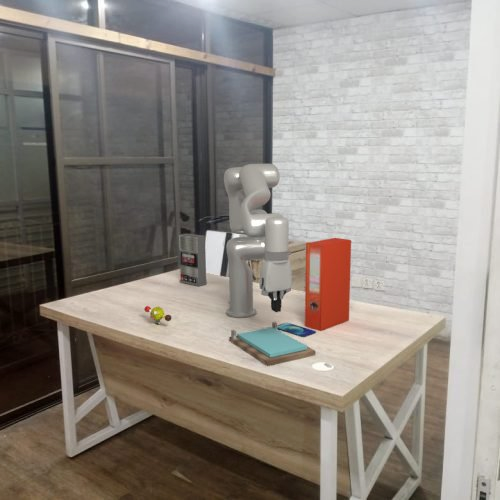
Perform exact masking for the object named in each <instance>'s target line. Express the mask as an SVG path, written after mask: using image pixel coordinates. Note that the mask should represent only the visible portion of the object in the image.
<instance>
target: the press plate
mask: <svg viewBox="0 0 500 500" xmlns="http://www.w3.org/2000/svg"><path fill="white" fill-rule="evenodd" d="M236 336H237V337H238V338H239V339H241V340H243V341H244V342H246V343H247V344H249V345H251V346H252V347H254V348H255V349H257V350H259V351H260V352H262V353H263V354H265V355H267V356H268V357H270V358H271V357H275V356H280V355H284V354H289V353H293V352H298V351H302V350H307V347H308V345H307V344H305V343H303V342H301V341H299V340H297V339H295V338H293V337H292V336H289V335H287V334H285V332H284V333H283V331H281V330H278V329H277V330H276V329H274V328H272V326H268V327H262V328H258V329H253V330H248V331H243V332H238V333H236Z"/></svg>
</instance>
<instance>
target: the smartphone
mask: <svg viewBox="0 0 500 500" xmlns="http://www.w3.org/2000/svg"><path fill="white" fill-rule="evenodd" d="M277 330H278V331H280V332H284V333H288V334H291V335H294V336H297V337H300V338H306V337H309V336H312V335H315V334H316V333H317V330H315V329H311V328H308V327H304V326H300V325H297V324H294V323H290V322H283V323H281V324H277Z"/></svg>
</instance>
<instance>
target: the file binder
mask: <svg viewBox="0 0 500 500" xmlns="http://www.w3.org/2000/svg"><path fill="white" fill-rule="evenodd" d="M351 255H352V240H351V239H346V238H339V237H331V238H326V239H322V240H317V241H312V242H311V241H310V242H307V243H305V286H304V288H305V291H304V293H305V294H304V296H305V298H304V299H305V301H304V302H305V303H304V326H305V328H307V329H311V330H314V331H319V332H323V331H325V330H328V329H330V328H333V327H335V326H338V325H341V324H344V323H346V322H348V321H350V295H351V293H350V292H351V289H350V288H351V264H352V263H351V262H352V261H351V260H352V259H351V258H352V256H351Z"/></svg>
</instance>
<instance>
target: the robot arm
mask: <svg viewBox="0 0 500 500" xmlns="http://www.w3.org/2000/svg"><path fill="white" fill-rule="evenodd" d="M280 176H281V175H280V172H279V169H278V167H277V166H276V165H275V164H273V163H248V164H245V165H243V166H237V167H235V166H234V167H230V168H229V167H228V168H227V169H226V170H225V171H224V174H223V182H224V184H223V185H224V188H225V191H226V194H227V195H228V206H229V207H228V208H229V209H228V210H229V211H228V212H229V214H228V215H229V218H228V219H229V228H230V231H231V233H233V234H236V235H246V236H239V237H238V236H237V237H236V236H235V237H232V238H230V239H229V240H227V243H226V254H227V255H226V256H227V262H228V276H229V277H228V279H229V280H228V281H229V283H228V284H229V287H228V288H229V300H228V304H229V308H227V309H226V310H225V312H226V316H229V317H233V318H249V317H253V316H255V315H257V312H258V310H257V308H255V307H254V288H253V286H254V284H253V283H254V281H253V280H254V279H253V278H254V275H253V273H254V272H253V269H252V268H251V266H250V265H249V264H248V263H247V261H256V260H262V261H261V265H260V271H259V289H261V293H260V294H261V295H262V296H264V297H269V299H270V308H271V311H273V312H274V313H281V312H282V300H284V297H285V295H286V294H287V293H290V292H291V291H292V287H293V273H292V264H291V259H290V258H289V256H290V255H292V251H291V250H289V229H290V228H289V220H288V219H287V218H286V217H284V216H283V214H280V213H267V211H266V210H264V209H259V208H260V207H262V206H264V205H266V204H267V203H268V201H269V200H270V198H271V190H270V189H272V188H275V187H277V186H278V184H279V182H280V178H281V177H280Z"/></svg>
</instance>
